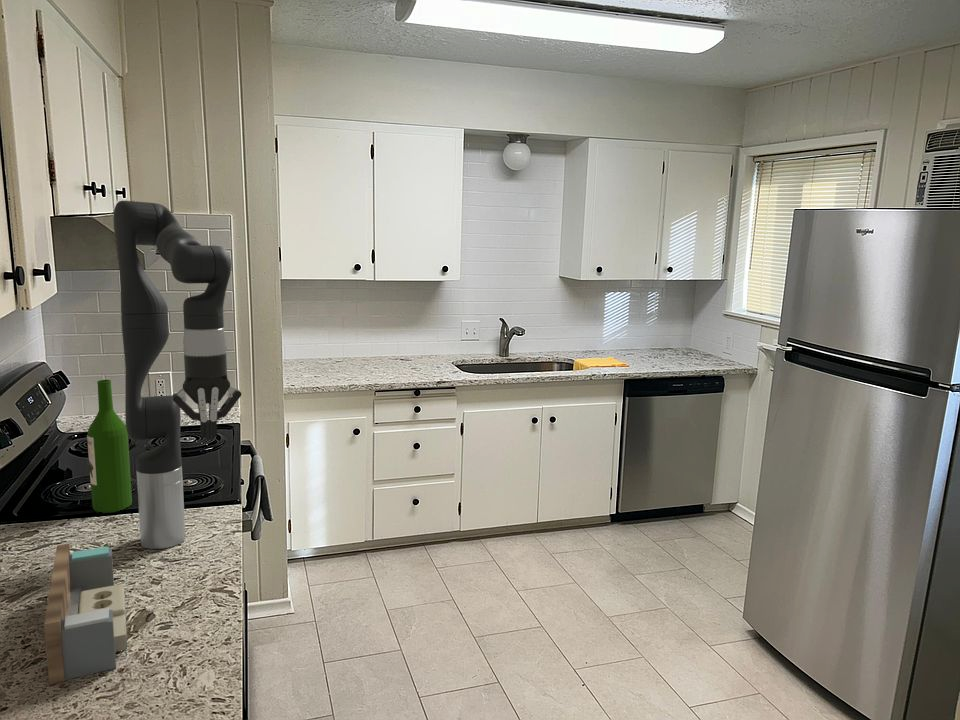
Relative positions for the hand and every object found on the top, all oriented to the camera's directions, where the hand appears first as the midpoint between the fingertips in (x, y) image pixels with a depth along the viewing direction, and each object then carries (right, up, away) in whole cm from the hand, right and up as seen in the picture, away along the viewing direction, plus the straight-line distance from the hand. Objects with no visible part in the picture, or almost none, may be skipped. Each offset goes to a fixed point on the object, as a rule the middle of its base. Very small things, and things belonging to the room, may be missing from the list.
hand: (209, 439), depth 137 cm
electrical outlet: (-13, -32, -14) cm, 37 cm away
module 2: (-9, -33, -25) cm, 43 cm away
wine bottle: (-41, -22, +42) cm, 62 cm away
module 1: (-21, -29, -3) cm, 36 cm away
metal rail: (-17, -31, -15) cm, 39 cm away
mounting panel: (-19, -32, -16) cm, 40 cm away
